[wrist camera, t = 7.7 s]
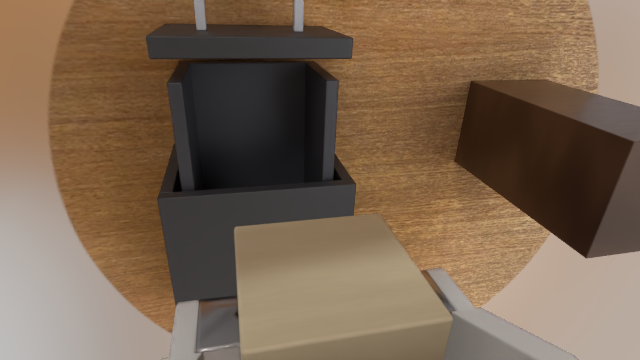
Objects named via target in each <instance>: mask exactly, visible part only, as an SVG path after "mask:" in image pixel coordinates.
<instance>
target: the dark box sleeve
mask: <svg viewBox="0 0 640 360" xmlns="http://www.w3.org/2000/svg"><path fill="white" fill-rule="evenodd" d="M355 191H356V183H355V182H354V181H353V179H352V178H351V176H350V175H349V174H348V172H347V171H346V169H345V168H344V166H343V165H342V163H341V162H340V161H339V159H338V158H337V156H336V155H335V156H334V174H333V181H323V182H309V183H295V184H281V185H267V186H253V187H239V188H225V189H211V190H197V191H184V192H182V188H181V181H180V173H179V166H178V159H177V152H176V145H175V144H174V146H173V149H172V153H171V156H170V159H169V163H168V166H167V170H166V173H165V176H164V180H163V183H162V186H161V190H160V193H159V196H158V199H157V200H158V205H159V211H160V217H161V223H162V229H163V235H164V240H165V246H166V252H167V258H168V264H169V269H170V275H171V281H172V287H173V293H174V298H175V304H176V306H177V304H178V302H184V301H193V300H200V299H208V298H217V297H226V296H235V295H237V279H236V260H235V242H234V229H235V227H238V226H248V225H259V224H269V223H280V222H291V221H301V220H312V219H322V218H333V217H343V216H353V215H354V203H355Z"/></svg>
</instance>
